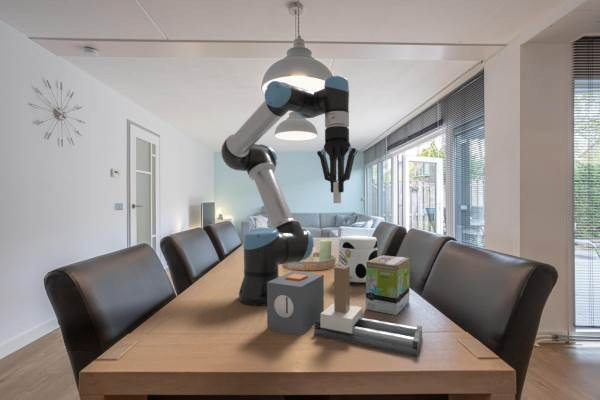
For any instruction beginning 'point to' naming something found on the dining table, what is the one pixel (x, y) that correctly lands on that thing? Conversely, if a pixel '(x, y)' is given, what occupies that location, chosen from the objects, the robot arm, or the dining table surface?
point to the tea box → (387, 284)
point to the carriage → (341, 304)
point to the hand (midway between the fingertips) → (337, 203)
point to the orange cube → (296, 277)
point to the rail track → (378, 335)
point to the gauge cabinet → (295, 303)
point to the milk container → (357, 255)
